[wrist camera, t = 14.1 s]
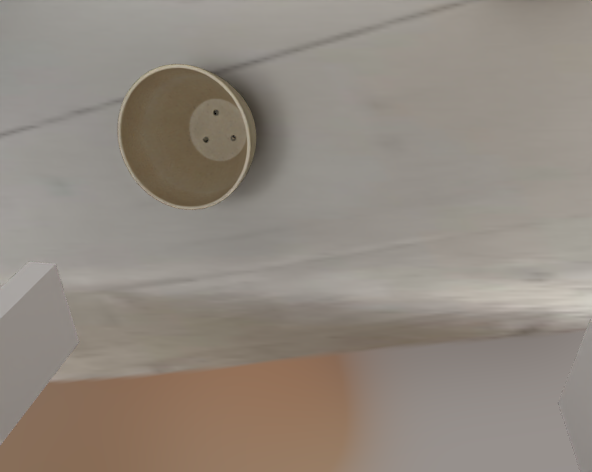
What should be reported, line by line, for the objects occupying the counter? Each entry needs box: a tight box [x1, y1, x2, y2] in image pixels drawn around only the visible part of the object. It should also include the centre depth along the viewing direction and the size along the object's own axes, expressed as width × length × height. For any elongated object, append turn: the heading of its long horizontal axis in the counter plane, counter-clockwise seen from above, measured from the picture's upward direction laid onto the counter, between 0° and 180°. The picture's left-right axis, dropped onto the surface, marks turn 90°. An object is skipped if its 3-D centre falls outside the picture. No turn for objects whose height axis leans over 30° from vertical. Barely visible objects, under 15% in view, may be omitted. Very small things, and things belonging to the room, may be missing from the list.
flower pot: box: [118, 64, 256, 210], centre depth 39 cm, size 10×10×7 cm
